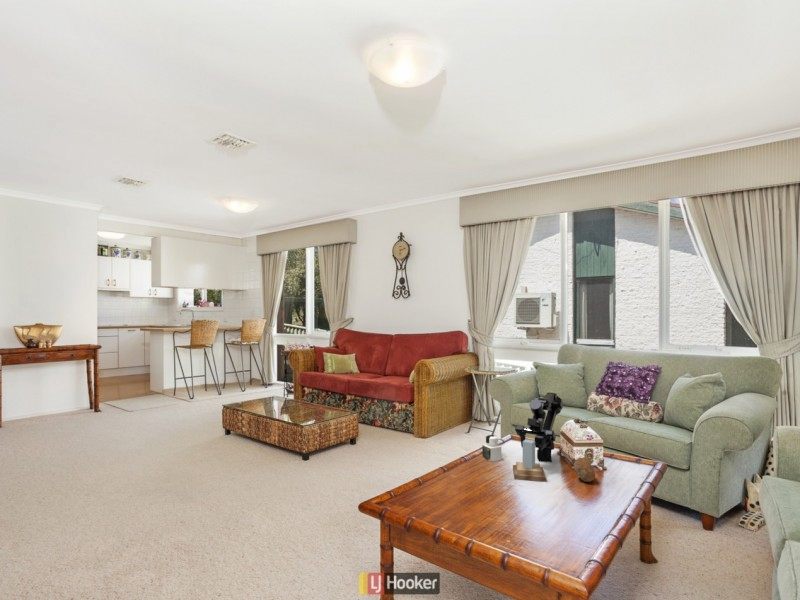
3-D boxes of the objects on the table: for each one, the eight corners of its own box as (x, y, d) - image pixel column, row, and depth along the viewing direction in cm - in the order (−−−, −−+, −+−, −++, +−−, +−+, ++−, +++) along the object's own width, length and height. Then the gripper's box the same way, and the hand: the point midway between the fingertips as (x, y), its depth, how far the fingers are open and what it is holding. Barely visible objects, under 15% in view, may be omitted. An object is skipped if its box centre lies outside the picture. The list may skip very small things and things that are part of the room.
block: (525, 464, 219) (525, 439, 220) (535, 466, 217) (535, 440, 217) (522, 467, 216) (522, 441, 216) (532, 468, 213) (532, 443, 213)
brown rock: (598, 477, 213) (598, 456, 213) (593, 486, 203) (593, 464, 203) (577, 473, 218) (577, 452, 219) (571, 482, 208) (571, 459, 208)
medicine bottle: (482, 457, 241) (482, 435, 241) (493, 456, 244) (493, 433, 244) (490, 462, 234) (490, 438, 235) (501, 460, 237) (501, 436, 238)
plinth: (542, 470, 222) (542, 462, 222) (546, 481, 208) (546, 472, 208) (512, 468, 225) (512, 460, 225) (514, 479, 211) (514, 470, 211)
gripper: (516, 409, 229) (508, 436, 220) (553, 413, 219) (547, 443, 210) (521, 421, 236) (514, 448, 227) (558, 426, 225) (552, 455, 216)
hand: (531, 448), depth 220 cm, fingers open, 9 cm apart
